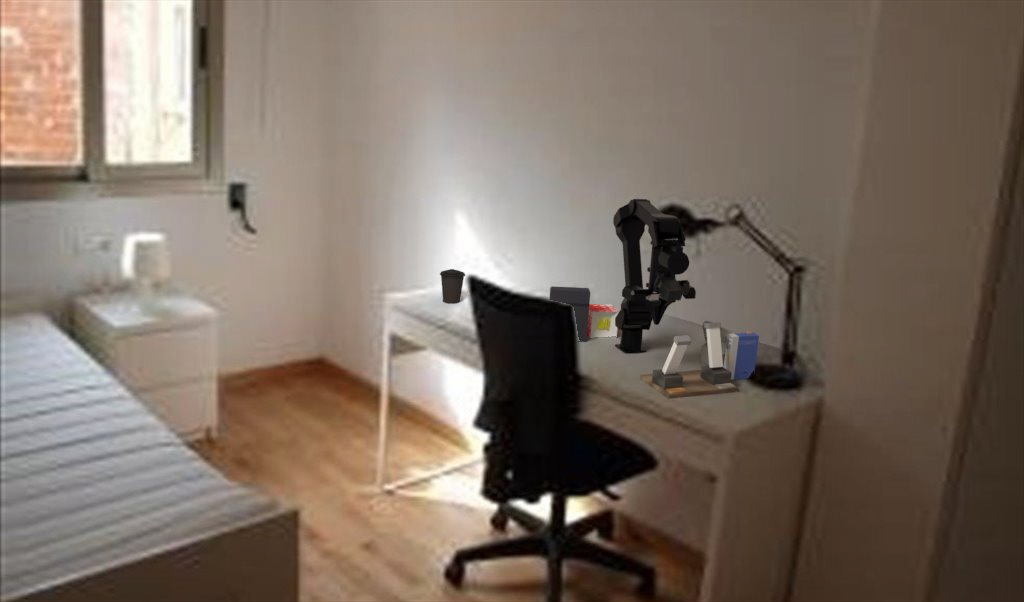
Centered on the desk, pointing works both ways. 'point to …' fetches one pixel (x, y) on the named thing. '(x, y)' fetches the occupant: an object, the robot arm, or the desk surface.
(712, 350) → the lever
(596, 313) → the red and white cube
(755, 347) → the walkman
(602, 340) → the desk surface
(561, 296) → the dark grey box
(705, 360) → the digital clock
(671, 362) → the lever
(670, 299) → the robot arm
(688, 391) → the switch board
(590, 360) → the desk surface
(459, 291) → the coffee cup
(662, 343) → the desk surface
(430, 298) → the desk surface
